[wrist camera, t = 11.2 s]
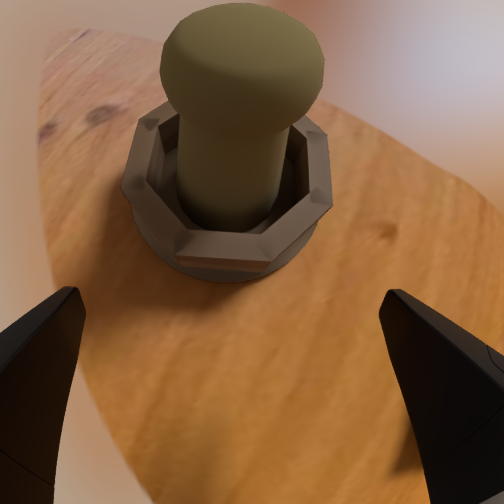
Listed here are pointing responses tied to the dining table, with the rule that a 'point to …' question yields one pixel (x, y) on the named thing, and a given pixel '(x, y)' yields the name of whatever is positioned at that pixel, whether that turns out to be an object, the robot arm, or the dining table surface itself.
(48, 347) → the robot arm
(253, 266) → the octagonal stone mortar
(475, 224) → the dining table surface
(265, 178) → the olive round-headed post
